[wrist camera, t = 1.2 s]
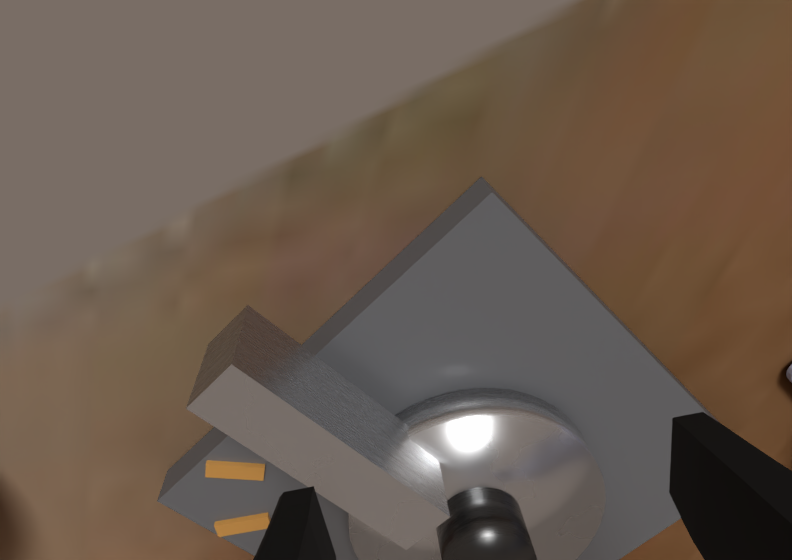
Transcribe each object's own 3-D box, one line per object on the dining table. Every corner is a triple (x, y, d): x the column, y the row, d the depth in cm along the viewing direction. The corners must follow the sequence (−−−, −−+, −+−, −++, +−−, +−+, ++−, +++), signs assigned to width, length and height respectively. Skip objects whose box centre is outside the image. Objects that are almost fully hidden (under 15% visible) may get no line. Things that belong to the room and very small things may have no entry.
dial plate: (736, 440, 25) (761, 470, 24) (426, 652, 30) (431, 689, 28) (481, 176, 19) (493, 194, 18) (143, 493, 24) (130, 528, 22)
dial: (637, 477, 23) (687, 563, 20) (460, 600, 26) (479, 696, 22) (333, 209, 18) (332, 266, 14) (142, 400, 20) (102, 489, 16)
